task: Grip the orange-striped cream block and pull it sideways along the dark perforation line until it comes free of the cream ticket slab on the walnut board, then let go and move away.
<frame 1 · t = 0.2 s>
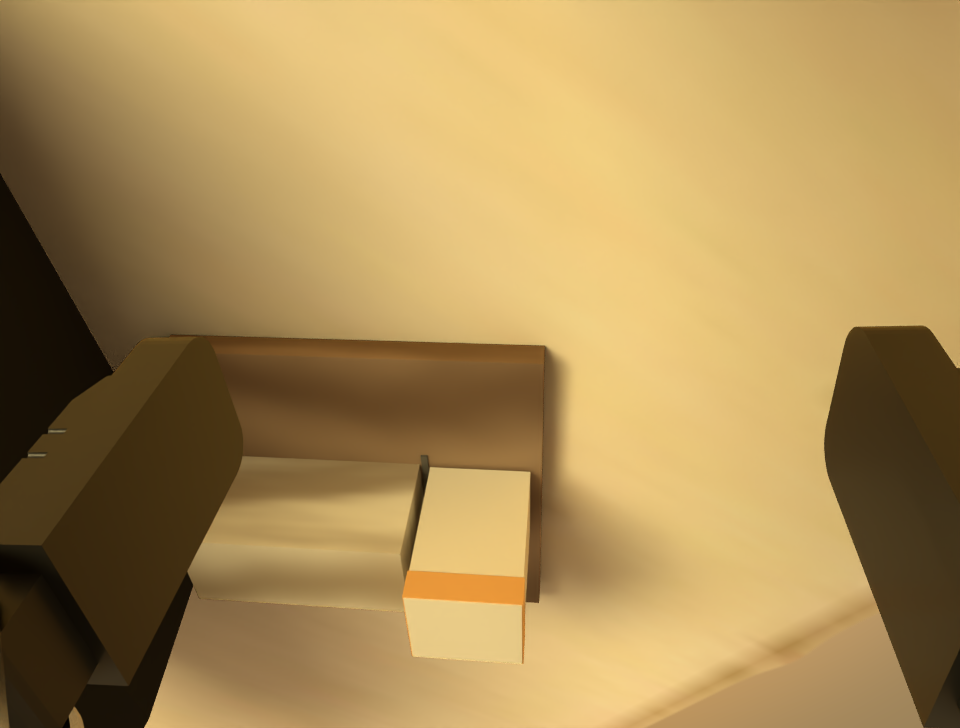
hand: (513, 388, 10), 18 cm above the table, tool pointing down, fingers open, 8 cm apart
orange-striped cream block: (473, 560, 33), point 5 cm above the table, slide at 0.0 cm
ticket board: (376, 473, 37), on the table
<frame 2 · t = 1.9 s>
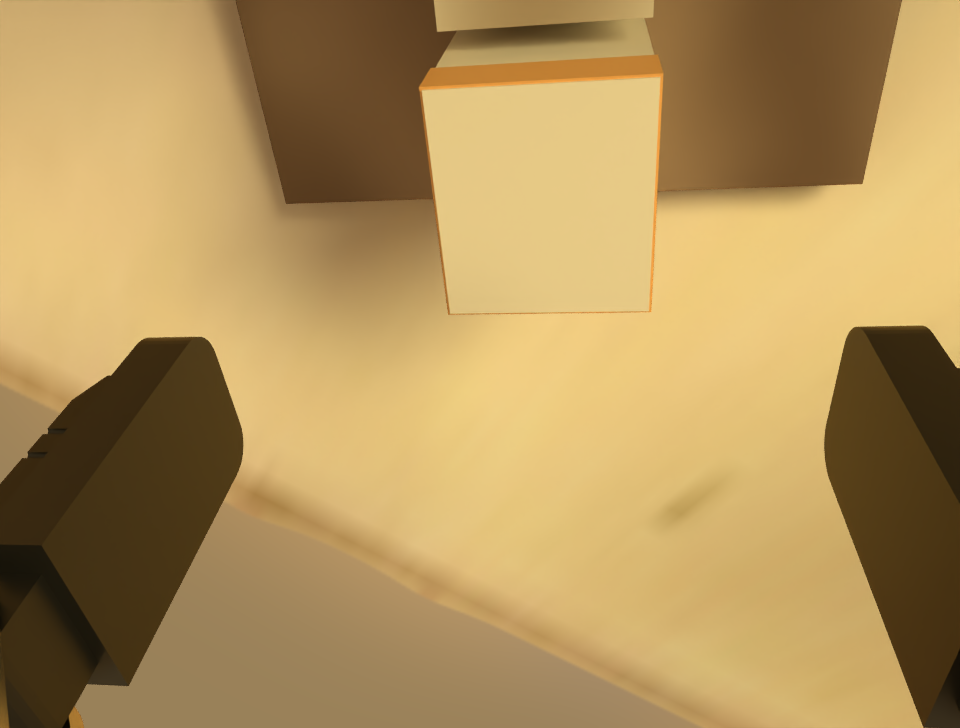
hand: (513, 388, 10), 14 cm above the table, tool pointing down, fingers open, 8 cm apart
orange-striped cream block: (550, 143, 17), point 5 cm above the table, slide at 0.0 cm
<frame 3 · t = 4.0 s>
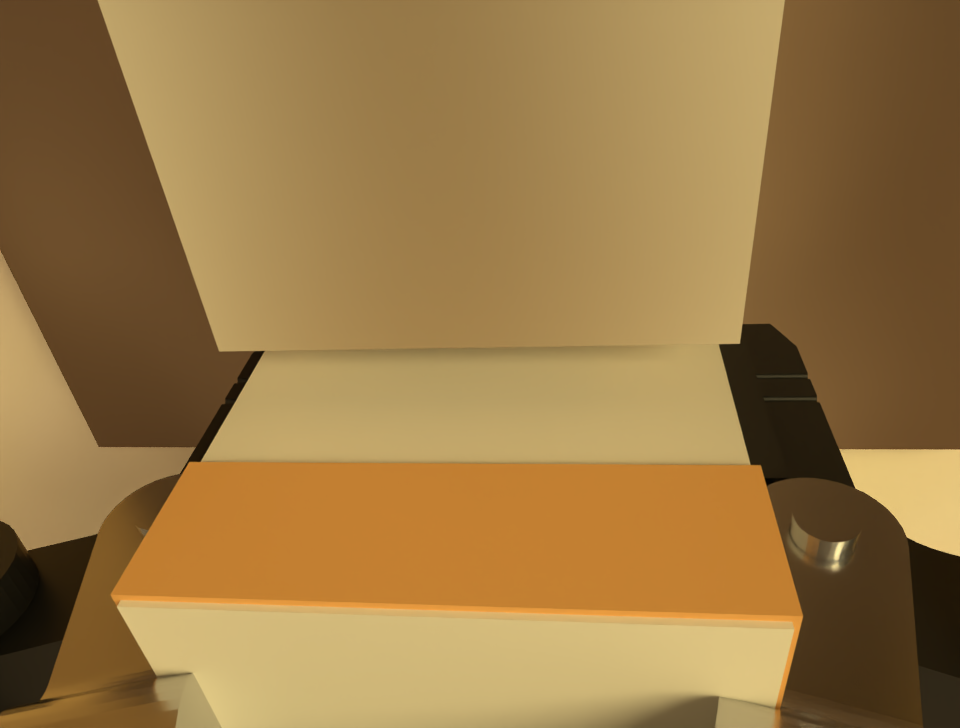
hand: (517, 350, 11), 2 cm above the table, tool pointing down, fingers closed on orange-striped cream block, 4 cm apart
orange-striped cream block: (505, 479, 9), point 5 cm above the table, slide at 0.0 cm, touching gripper
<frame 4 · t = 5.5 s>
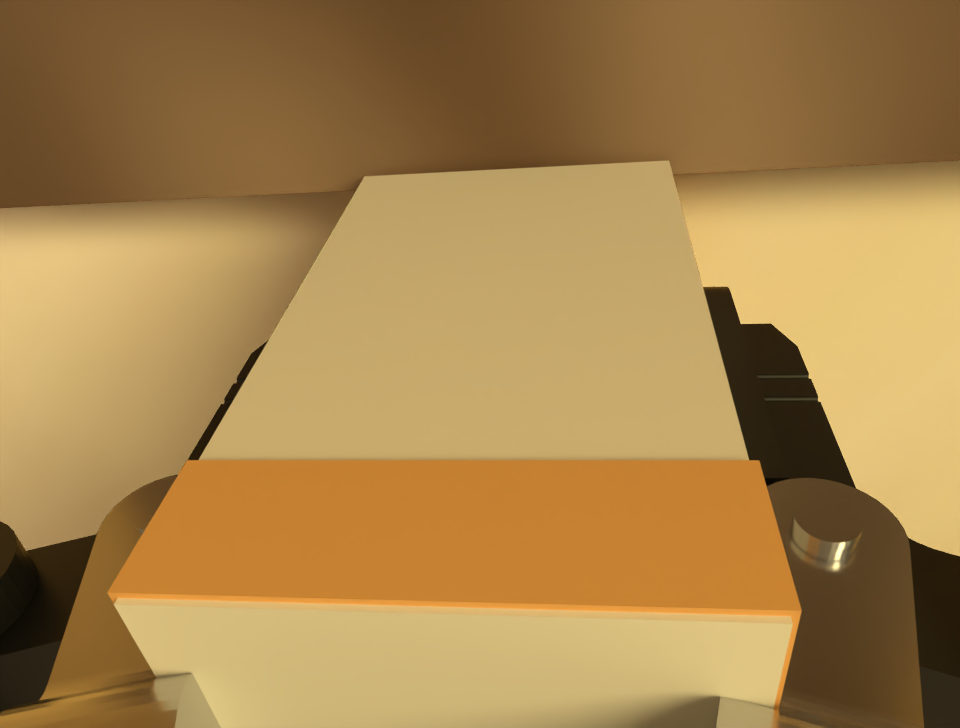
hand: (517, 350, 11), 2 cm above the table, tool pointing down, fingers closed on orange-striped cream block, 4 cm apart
orange-striped cream block: (505, 478, 9), point 5 cm above the table, slide at 4.8 cm, touching gripper
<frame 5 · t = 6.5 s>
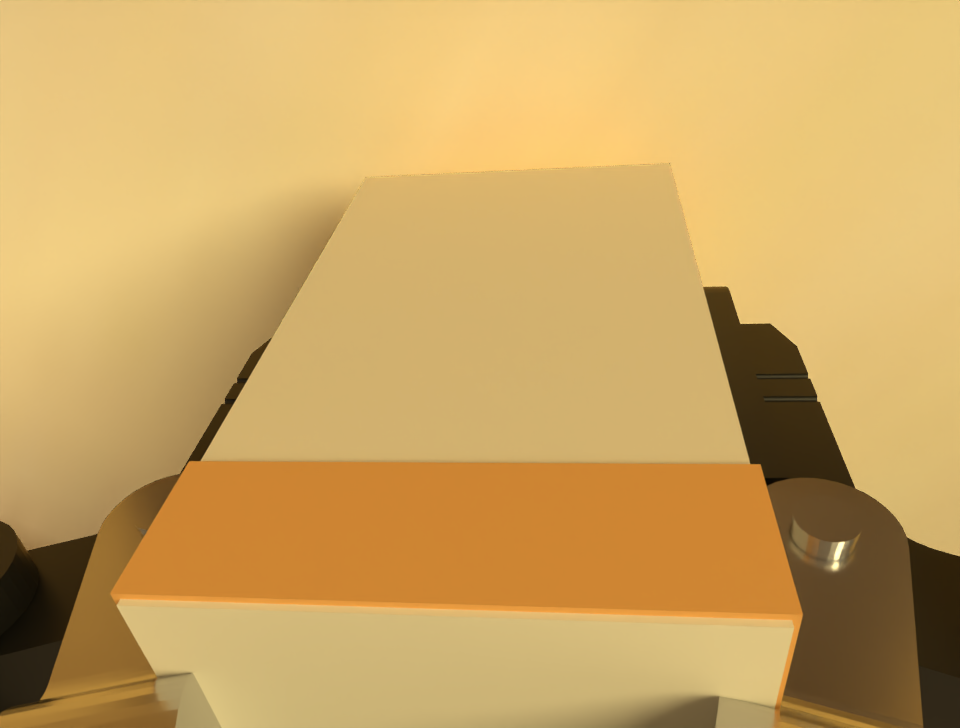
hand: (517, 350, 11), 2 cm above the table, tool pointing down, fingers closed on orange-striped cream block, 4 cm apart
orange-striped cream block: (505, 480, 9), point 5 cm above the table, slide at 8.8 cm, touching gripper
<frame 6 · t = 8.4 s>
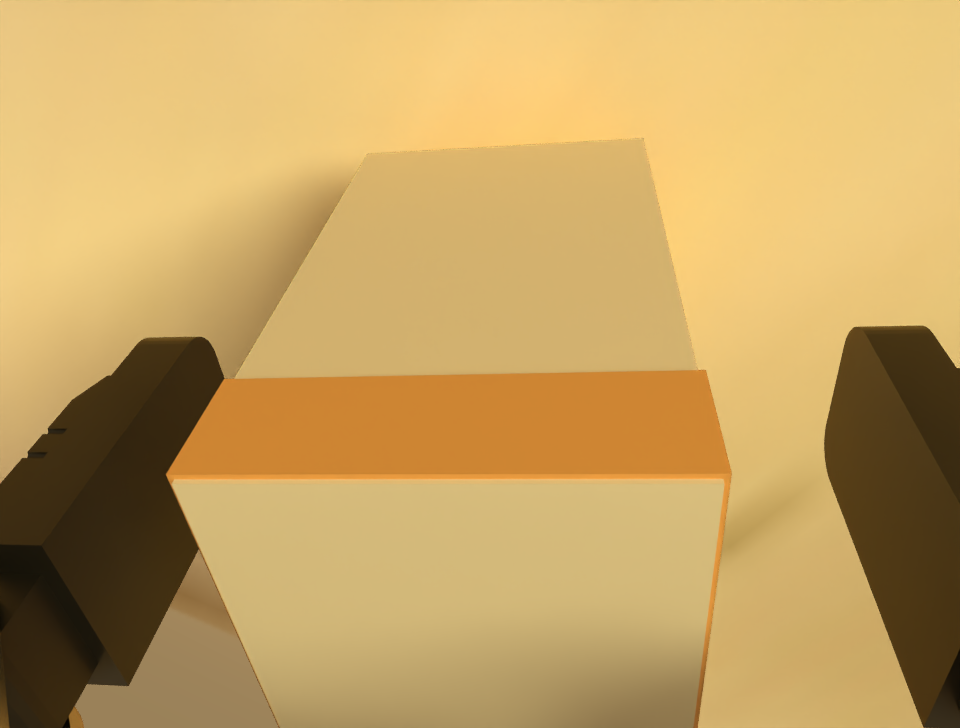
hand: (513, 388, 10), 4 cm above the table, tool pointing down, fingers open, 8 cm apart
orange-striped cream block: (496, 419, 10), point 5 cm above the table, slide at 8.9 cm
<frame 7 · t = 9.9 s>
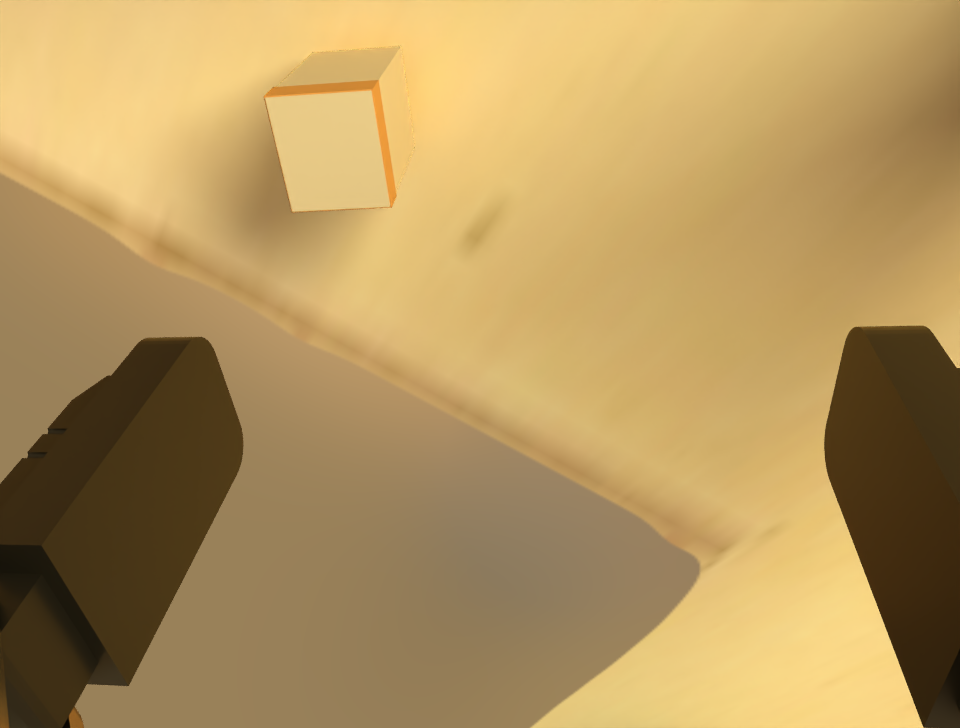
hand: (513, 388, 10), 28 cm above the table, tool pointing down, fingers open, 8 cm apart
orange-striped cream block: (349, 125, 32), point 5 cm above the table, slide at 8.9 cm
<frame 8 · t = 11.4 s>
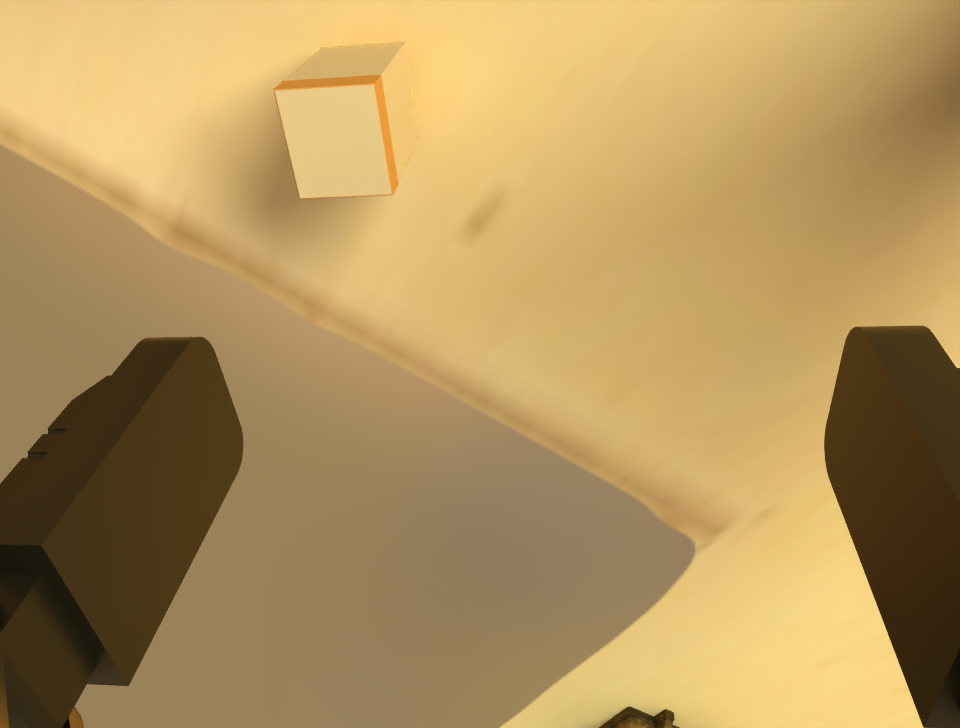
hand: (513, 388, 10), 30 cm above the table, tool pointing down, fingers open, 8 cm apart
orange-striped cream block: (354, 117, 34), point 5 cm above the table, slide at 8.9 cm
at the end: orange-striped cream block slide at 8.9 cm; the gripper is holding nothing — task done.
